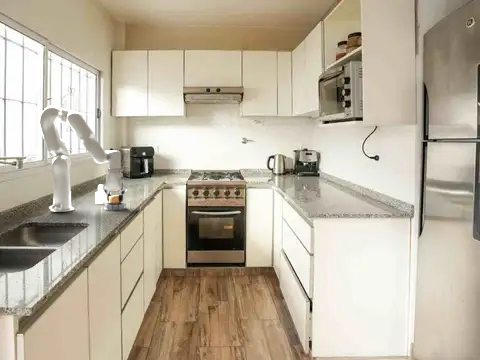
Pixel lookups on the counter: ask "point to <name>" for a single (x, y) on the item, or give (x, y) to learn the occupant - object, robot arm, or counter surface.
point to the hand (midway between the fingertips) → (115, 201)
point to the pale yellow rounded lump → (114, 199)
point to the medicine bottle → (101, 195)
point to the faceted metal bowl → (114, 206)
